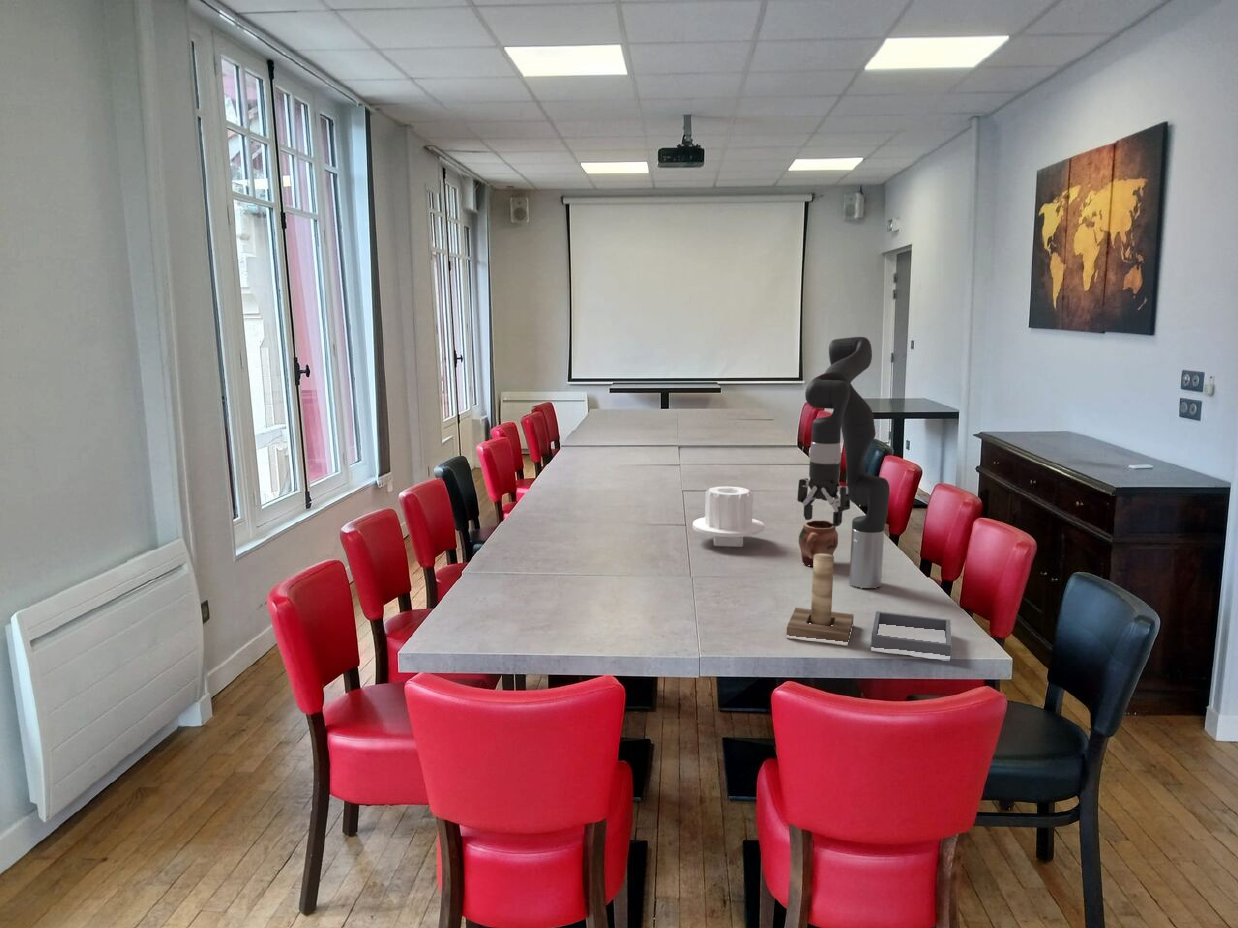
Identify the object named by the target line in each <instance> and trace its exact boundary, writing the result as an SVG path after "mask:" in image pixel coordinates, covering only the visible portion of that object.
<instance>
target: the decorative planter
mask: <svg viewBox="0 0 1238 928" xmlns="http://www.w3.org/2000/svg"><path fill="white" fill-rule="evenodd" d="M836 527H837V526H833V522H831V521H829V520H825V519H824V520H816V519H815V520H814V519H813V520H811V521H810V520H809V521H807V522H805V523H804V524H803V526H802V528H801V531H800V533H799V535H798V545H799V549H800V553H801V560H802V563H804V564H806V565H810V566H813V558H814V555H815V554H829V555H832V556H834V553H835V551H836V549H837V548H838V544H839V538H838V537H839V532H838V531H837V530H836ZM804 564H803V565H804ZM806 565H805V566H806ZM810 566H809V567H810Z"/></svg>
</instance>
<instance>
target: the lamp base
mask: <svg viewBox="0 0 1238 928" xmlns="http://www.w3.org/2000/svg"><path fill="white" fill-rule="evenodd" d="M704 494H705V495H704V496H705V497H704V498H705V499H704V500H705V501H704V503H705V504H704V506H705V507H704V508H705V509H704V516H703V517H699V518H697V519H694V520H693V522H692V529H693V530H694V531H696V532H698V533H700V534H704V535H709V536H712V537H713V539H712V540H713V546H714V547H728V548H729V547H733V548H734V547H735V548H743V546H744V537H750V536H755V535H759V534H761V533H763V532H764V530H765V524H764V522H762V521H760V520H758V519H755V518H753V509H754V507H753V506H754V505H753V503H754V494H753V492H752V490H749V488H744V487H740V486H729V485H728V486H725V485H724V486H714V487H709V488H708V489H707V490H706V491H705V493H704Z"/></svg>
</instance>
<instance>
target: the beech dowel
mask: <svg viewBox="0 0 1238 928" xmlns="http://www.w3.org/2000/svg"><path fill="white" fill-rule="evenodd" d="M834 561H835V556H834V555H833V556H832V555H829V554H815V555H814V558H813V567H812V583H811V584H812V587H811V607H810V608H811V624H816V625H824V626H831V612H832V609H833V586H834V568H835V567H834V565H835V564H834V563H835V562H834Z"/></svg>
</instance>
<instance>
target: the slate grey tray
mask: <svg viewBox="0 0 1238 928" xmlns="http://www.w3.org/2000/svg"><path fill="white" fill-rule="evenodd" d="M879 624H886V625H896V626H905V627H914V628H924V629H935V630H944V631H945V638H946V643H939V642H931V641H923V640H915V639H907V638H898V637H890V636H882V635H877V634H878V629H879ZM872 626H873V627H872V632H871V641H870V642H871V643H870V648H871V647H874V648H884V649H899V650H907V651H915V652H922V653H933V654H940V655H945V656H951V657H952V633H951V631H952V630H951V629H952V627H951V619H949V618H940V617H930V616H923V615H921V616H920V615H913V614H912V615H911V614H903V613H897V612H896V613H895V612H894V613H893V612H886V611H877V610H876V611H875V615H874V621H873V625H872Z"/></svg>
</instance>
